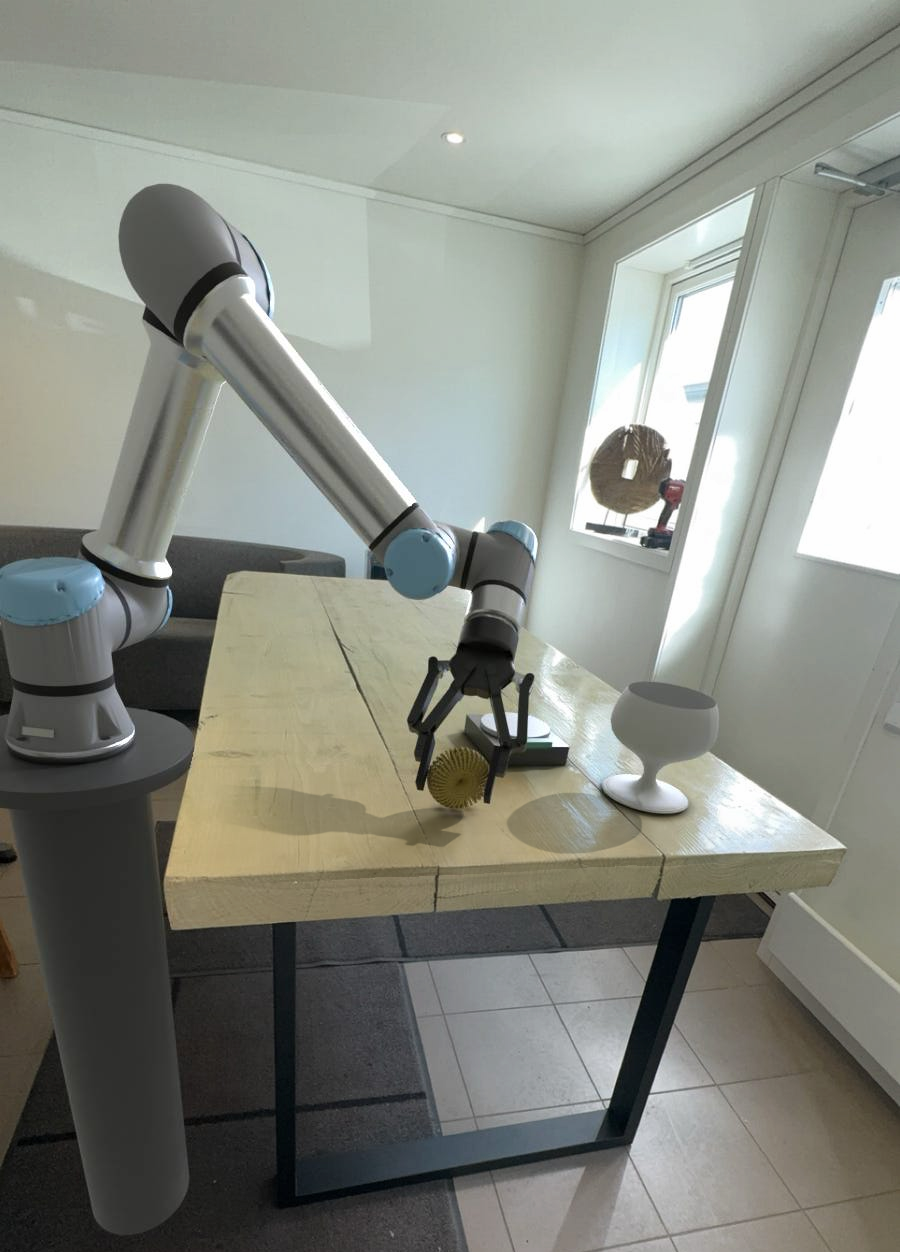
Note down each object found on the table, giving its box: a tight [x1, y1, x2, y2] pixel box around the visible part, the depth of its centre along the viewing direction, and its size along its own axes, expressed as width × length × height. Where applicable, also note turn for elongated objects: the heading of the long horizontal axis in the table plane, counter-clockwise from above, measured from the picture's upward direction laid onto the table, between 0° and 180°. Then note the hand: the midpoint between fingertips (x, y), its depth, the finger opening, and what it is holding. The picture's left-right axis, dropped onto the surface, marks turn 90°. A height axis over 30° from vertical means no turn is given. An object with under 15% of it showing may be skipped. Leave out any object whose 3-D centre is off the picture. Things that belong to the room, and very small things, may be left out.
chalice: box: [601, 681, 720, 814], centre depth 90 cm, size 14×14×15 cm
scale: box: [463, 711, 570, 767], centre depth 104 cm, size 14×12×4 cm
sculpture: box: [426, 746, 490, 810], centre depth 81 cm, size 8×4×8 cm, turn 102°
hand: (452, 792), depth 78 cm, fingers closed on sculpture, 7 cm apart
